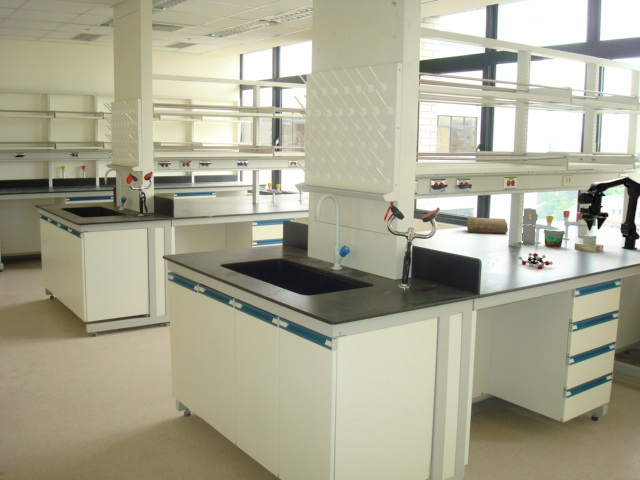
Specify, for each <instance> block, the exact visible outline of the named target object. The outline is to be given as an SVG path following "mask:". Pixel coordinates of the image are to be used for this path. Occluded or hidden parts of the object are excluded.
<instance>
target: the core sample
mask: <svg viewBox="0 0 640 480" xmlns="http://www.w3.org/2000/svg"><path fill="white" fill-rule="evenodd" d="M466 219H467V220H466V227H467V228H466V229H467V232H468V233H473V234H474V233H477V234H479V233H480V234H481V233H482V234H507V233H508V231H509V228H508V222H507V220H506V219H505V218H492V217H489V218H488V217H469V216H468V217H467V218H466Z"/></svg>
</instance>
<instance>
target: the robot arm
mask: <svg viewBox="0 0 640 480" xmlns="http://www.w3.org/2000/svg"><path fill="white" fill-rule="evenodd" d="M622 185H623V186H624V187H625V188H626V193H627V195H628V202H627V208H626V209H627V210H626V215H625V221H624V222H623V223H622V222H621V223H620V228H619V230H620V233H621V235H622V236H621V237H622V238H624V244H623V245H624V246H621V248H622V249H627V250H637V249H638V247H636V241H637V240H640V234H639V233H638V231H637V224H636V222H635V220H636V215H637V209H638V202H639V198H640V182H638V181H636V180H634V179H632V178H630V177H629V176H621V177H618V178H615V179H610V180H606V181H594V182H592V183H591V184H590V187H588V189H587V190H586V191H585V192H580V194H579V196H578V197H577V202H578V203H579V205H588V207H584V206H583V207H580V208H579V213H580V214H581V219H582V220H583V221H584V222H585V223H586V226H587V230H588V231H590V232H591V230H592V229H593V226H594V225H593V224H594V223H595V219H596V223H597V224H596V225H597V226H596V227H597V228H596V229H597V230H600V229H601V228H602V226H603V224H605V223H604V222H605V221H606V220H607V219H608V218H609V213H608V211H607V212H605V211H602V209H603V205H602V201H603V197H606V196H607V195H606V194H605V193H604V192H605V191H607V190H608V189H611V188H615V187H618V186H622Z"/></svg>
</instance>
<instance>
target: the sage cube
mask: <svg viewBox="0 0 640 480" xmlns="http://www.w3.org/2000/svg"><path fill="white" fill-rule="evenodd" d="M582 242H583V244H587V245H595V244H597V235H592V234H585V235H583V238H582Z"/></svg>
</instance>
